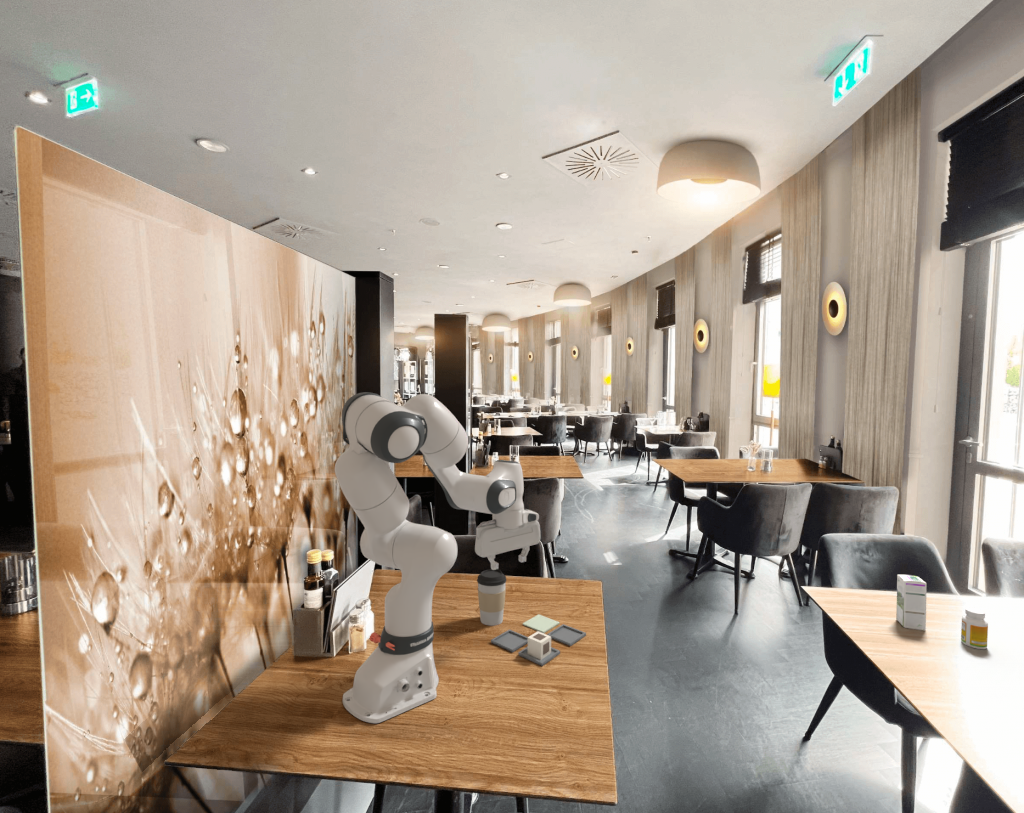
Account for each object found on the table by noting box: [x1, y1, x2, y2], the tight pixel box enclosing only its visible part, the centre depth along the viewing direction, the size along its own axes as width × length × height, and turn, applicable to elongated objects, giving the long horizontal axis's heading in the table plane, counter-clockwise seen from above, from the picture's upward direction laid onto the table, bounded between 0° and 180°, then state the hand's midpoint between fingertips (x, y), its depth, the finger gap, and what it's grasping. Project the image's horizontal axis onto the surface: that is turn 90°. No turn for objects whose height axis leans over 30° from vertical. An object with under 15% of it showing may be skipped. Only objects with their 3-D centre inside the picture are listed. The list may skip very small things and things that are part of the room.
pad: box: [522, 613, 560, 634], centre depth 151 cm, size 8×8×1 cm
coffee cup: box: [476, 568, 507, 627], centre depth 153 cm, size 9×9×15 cm
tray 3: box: [546, 623, 587, 647], centre depth 143 cm, size 8×8×1 cm
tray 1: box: [490, 629, 529, 654], centre depth 140 cm, size 8×8×1 cm
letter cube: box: [527, 630, 552, 660], centre depth 133 cm, size 4×5×5 cm
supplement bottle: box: [960, 607, 989, 650], centre depth 139 cm, size 5×5×10 cm
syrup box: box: [895, 574, 927, 631], centre depth 151 cm, size 6×6×14 cm
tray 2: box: [517, 646, 561, 667], centre depth 133 cm, size 8×8×1 cm
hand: (508, 565), depth 140 cm, fingers open, 8 cm apart
